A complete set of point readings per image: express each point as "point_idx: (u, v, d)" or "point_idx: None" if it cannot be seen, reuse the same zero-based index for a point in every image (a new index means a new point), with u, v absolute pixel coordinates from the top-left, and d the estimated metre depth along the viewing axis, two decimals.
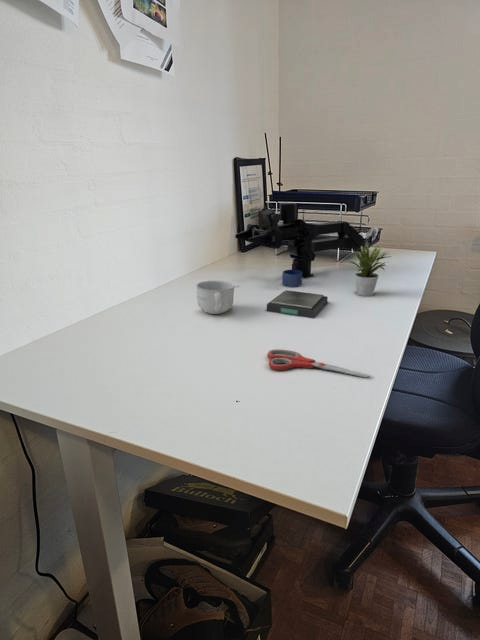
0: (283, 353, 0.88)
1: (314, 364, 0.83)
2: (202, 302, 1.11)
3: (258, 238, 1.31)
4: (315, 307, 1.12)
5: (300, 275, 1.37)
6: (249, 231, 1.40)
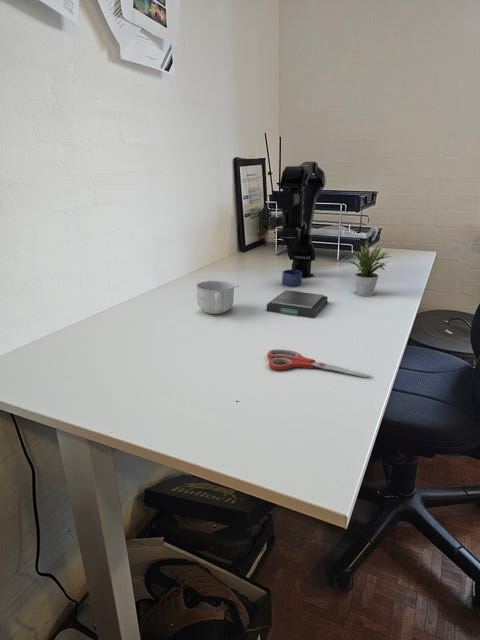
0: (283, 353, 0.88)
1: (314, 364, 0.83)
2: (202, 302, 1.11)
3: (288, 248, 1.30)
4: (315, 307, 1.12)
5: (300, 275, 1.37)
6: None
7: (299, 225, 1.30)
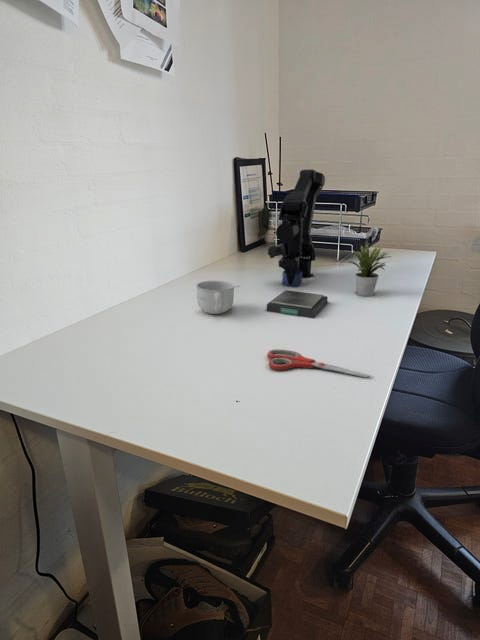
0: (283, 353, 0.88)
1: (314, 364, 0.83)
2: (202, 302, 1.11)
3: (288, 275, 1.35)
4: (315, 307, 1.12)
5: (300, 275, 1.37)
6: None
7: (298, 254, 1.33)
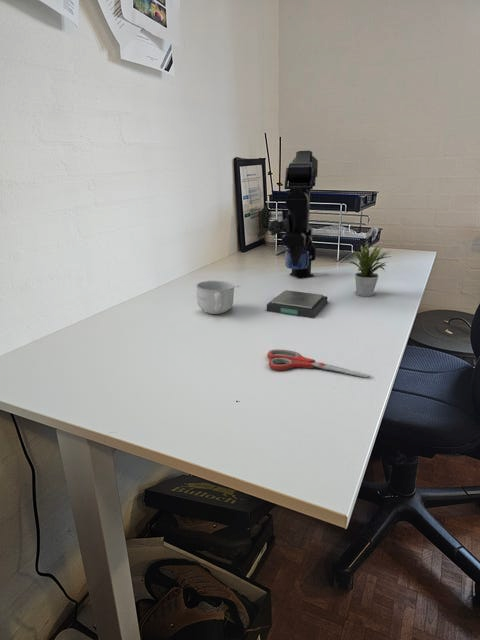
0: (283, 353, 0.88)
1: (314, 364, 0.83)
2: (202, 302, 1.11)
3: (293, 255, 1.15)
4: (315, 307, 1.12)
5: (306, 255, 1.17)
6: None
7: (304, 230, 1.14)
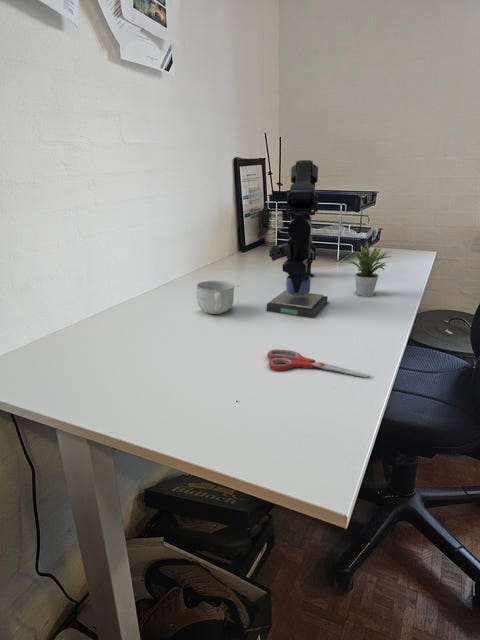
0: (283, 353, 0.88)
1: (314, 364, 0.83)
2: (202, 302, 1.11)
3: (294, 282, 1.11)
4: (315, 307, 1.12)
5: (308, 281, 1.13)
6: None
7: (306, 256, 1.10)
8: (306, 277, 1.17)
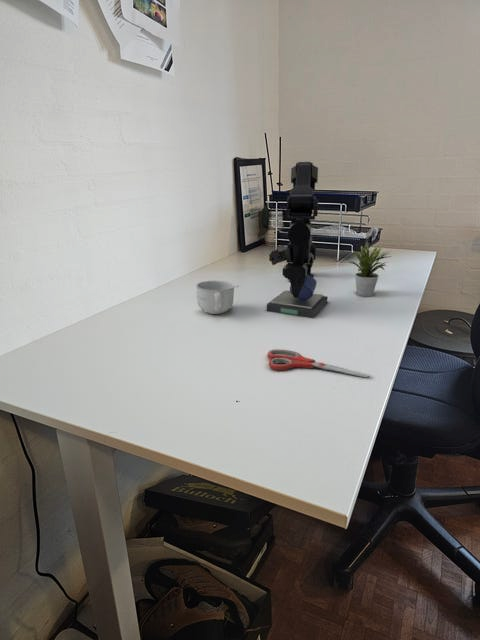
0: (283, 353, 0.88)
1: (314, 364, 0.83)
2: (202, 302, 1.11)
3: (293, 287, 1.11)
4: (315, 307, 1.12)
5: (315, 282, 1.14)
6: None
7: (306, 260, 1.11)
8: None
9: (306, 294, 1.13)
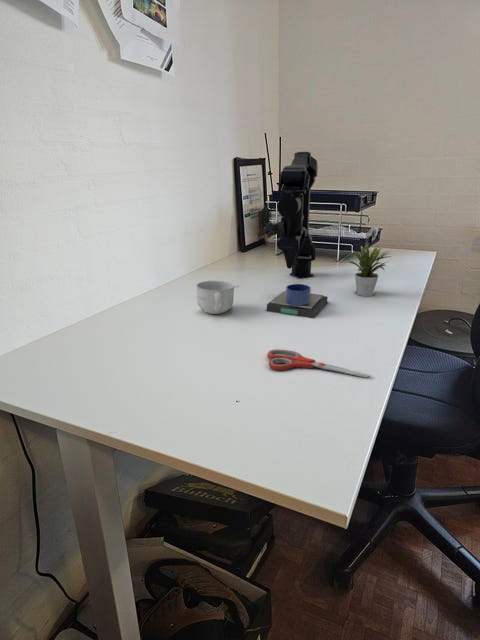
0: (283, 353, 0.88)
1: (314, 364, 0.83)
2: (202, 302, 1.11)
3: (287, 258, 1.18)
4: (315, 307, 1.12)
5: (308, 292, 1.10)
6: None
7: (299, 233, 1.17)
8: (306, 287, 1.14)
9: None
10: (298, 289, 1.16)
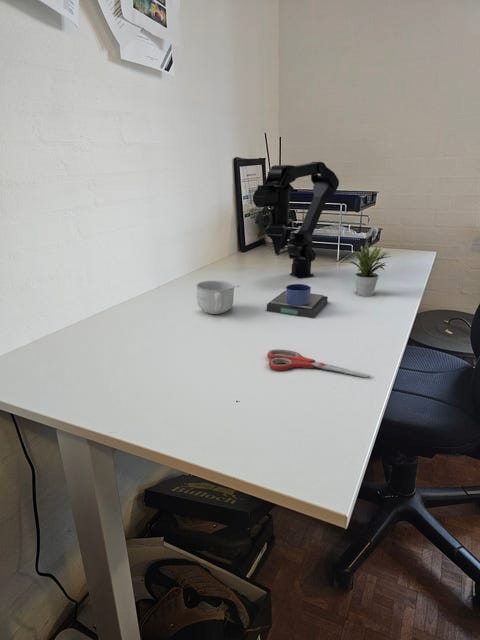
0: (283, 353, 0.88)
1: (314, 364, 0.83)
2: (202, 302, 1.11)
3: (275, 245, 1.33)
4: (315, 307, 1.12)
5: (308, 292, 1.10)
6: None
7: (285, 223, 1.33)
8: (306, 287, 1.14)
9: None
10: (298, 289, 1.16)
